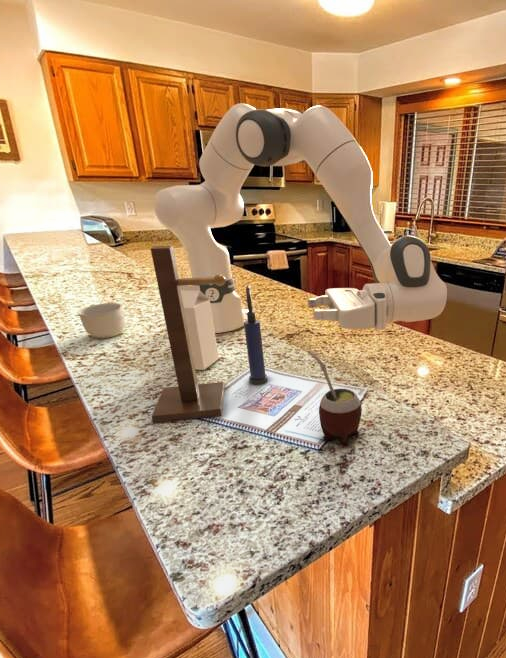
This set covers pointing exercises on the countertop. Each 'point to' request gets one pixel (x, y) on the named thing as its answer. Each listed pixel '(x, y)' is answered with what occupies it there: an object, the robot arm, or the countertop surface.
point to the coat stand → (182, 348)
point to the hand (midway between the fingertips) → (310, 308)
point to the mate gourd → (338, 411)
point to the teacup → (103, 319)
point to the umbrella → (254, 345)
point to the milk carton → (199, 326)
